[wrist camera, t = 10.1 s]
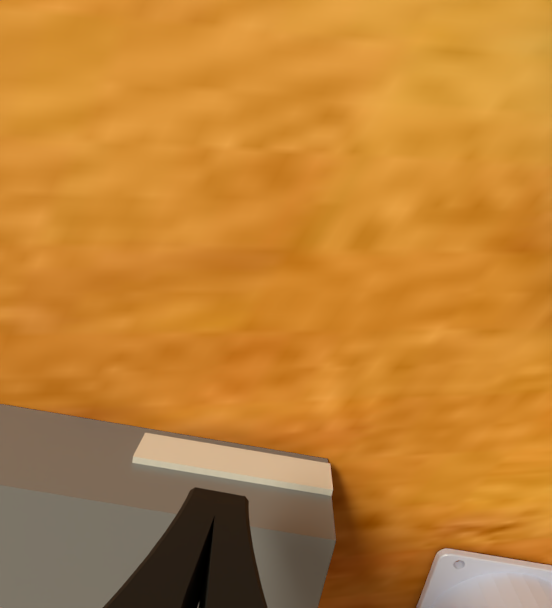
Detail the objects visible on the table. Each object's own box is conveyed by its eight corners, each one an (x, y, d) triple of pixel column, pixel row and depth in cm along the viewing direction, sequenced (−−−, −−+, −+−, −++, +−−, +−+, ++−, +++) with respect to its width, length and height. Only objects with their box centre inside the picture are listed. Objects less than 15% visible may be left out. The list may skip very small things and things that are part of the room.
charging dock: (329, 453, 21) (338, 538, 16) (302, 560, 23) (304, 661, 18) (-124, 377, 20) (-241, 443, 16) (-109, 492, 22) (-209, 579, 18)
